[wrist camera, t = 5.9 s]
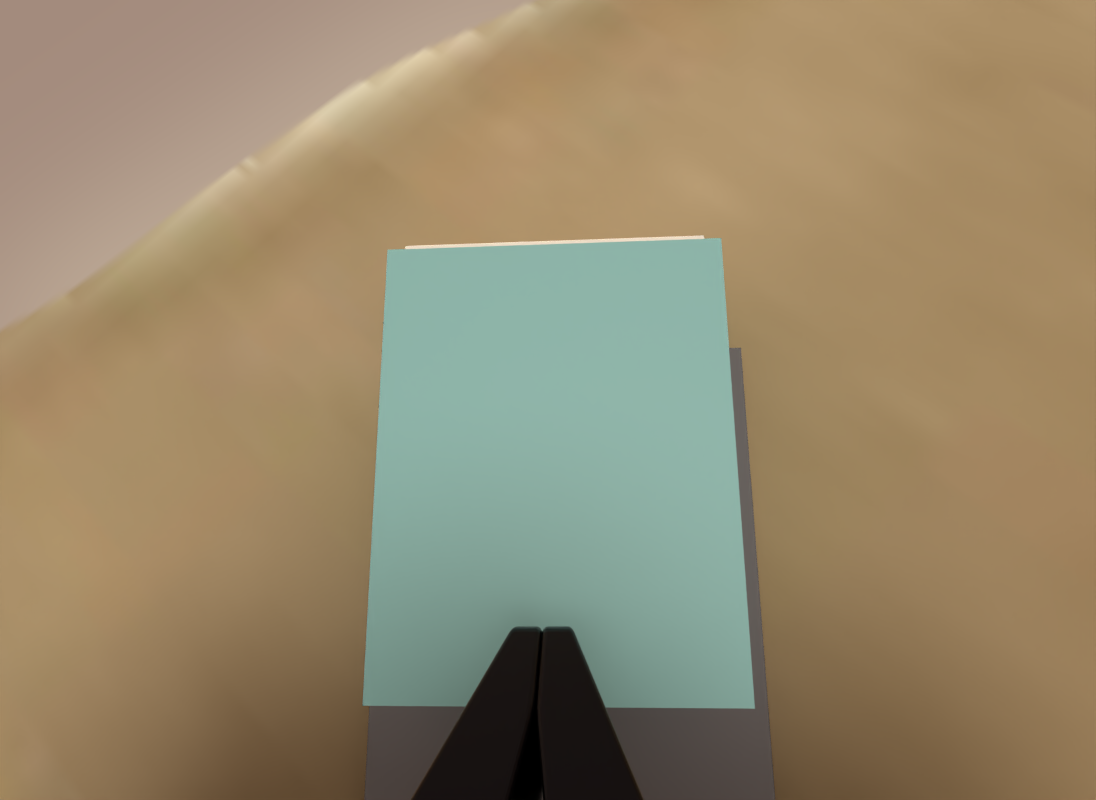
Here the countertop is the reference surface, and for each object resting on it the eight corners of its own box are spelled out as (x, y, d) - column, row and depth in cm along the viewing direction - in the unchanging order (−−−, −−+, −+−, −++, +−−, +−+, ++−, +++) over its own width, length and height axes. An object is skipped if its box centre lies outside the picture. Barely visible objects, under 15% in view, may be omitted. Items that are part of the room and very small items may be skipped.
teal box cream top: (754, 708, 12) (720, 229, 14) (362, 705, 12) (388, 241, 15) (718, 677, 15) (695, 294, 18) (412, 676, 16) (427, 302, 18)
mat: (781, 940, 14) (787, 951, 14) (362, 928, 15) (356, 938, 15) (737, 352, 18) (741, 347, 17) (392, 361, 18) (388, 356, 18)
